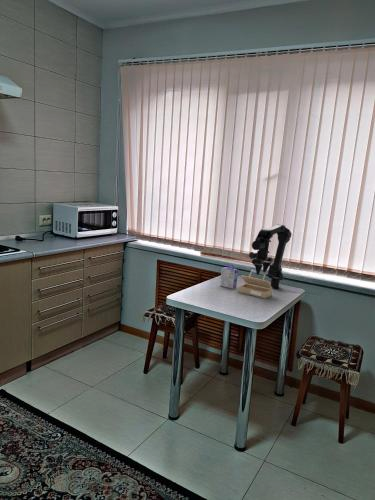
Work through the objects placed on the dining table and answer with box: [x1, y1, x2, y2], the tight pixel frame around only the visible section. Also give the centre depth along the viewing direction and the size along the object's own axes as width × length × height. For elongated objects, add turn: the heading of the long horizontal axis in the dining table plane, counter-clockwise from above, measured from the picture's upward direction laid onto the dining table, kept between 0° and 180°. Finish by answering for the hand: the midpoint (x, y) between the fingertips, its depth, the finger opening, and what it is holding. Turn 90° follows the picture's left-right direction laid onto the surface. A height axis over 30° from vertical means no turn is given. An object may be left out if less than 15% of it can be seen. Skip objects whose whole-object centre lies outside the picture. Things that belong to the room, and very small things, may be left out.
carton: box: [237, 283, 273, 300], centre depth 239 cm, size 10×18×4 cm, turn 54°
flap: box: [240, 269, 273, 290], centre depth 240 cm, size 9×18×6 cm
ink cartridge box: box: [219, 263, 239, 289], centre depth 251 cm, size 10×6×14 cm, turn 57°
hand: (260, 273), depth 242 cm, fingers open, 9 cm apart
